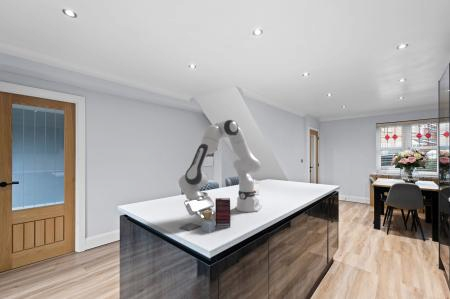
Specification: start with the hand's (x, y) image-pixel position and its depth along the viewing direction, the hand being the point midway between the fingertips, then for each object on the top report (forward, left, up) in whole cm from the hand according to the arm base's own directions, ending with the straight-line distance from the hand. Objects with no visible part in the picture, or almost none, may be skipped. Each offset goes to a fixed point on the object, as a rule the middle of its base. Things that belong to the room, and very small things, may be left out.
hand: (207, 216), depth 119 cm
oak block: (0, -1, -5) cm, 5 cm away
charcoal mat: (+8, -7, -5) cm, 11 cm away
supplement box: (-4, +8, -5) cm, 10 cm away
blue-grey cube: (+6, +5, -5) cm, 10 cm away
